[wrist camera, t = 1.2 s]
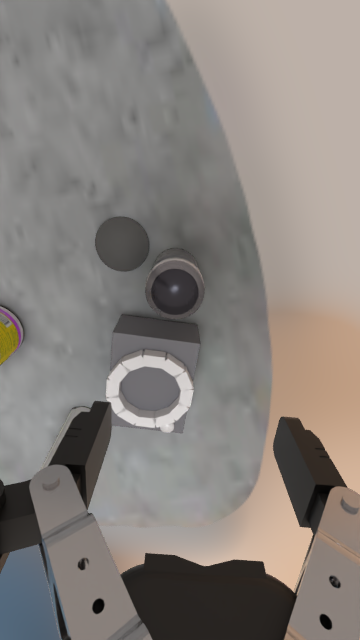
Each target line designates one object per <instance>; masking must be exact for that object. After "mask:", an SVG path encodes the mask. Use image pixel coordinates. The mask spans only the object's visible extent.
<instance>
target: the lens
mask: <svg viewBox="0 0 360 640" xmlns="http://www.w3.org/2000/svg"><path fill="white" fill-rule="evenodd" d="M145 292H146V298H147V301H148V303H149V305H150V307H151V308H152V309H153V310H154V311H155V312H156V313H157V314H159V315H160V316H162V317H165V318H168V319H182V318H185V317H188V316H190V315H191V314H193V313H194V312H195V311H196V310H197V309H198V308H199V307H200V305H201V303H202V301H203V298H204V280H203V277H202V275H201V272H200V271H199V268H198V265H197V262H196V260H195V258H194V257H193V256H192V255H191V254H190V253H189V252H187V251H185V250H183V249H179V248H172V249H168V250H166V251H164V252H162V253H161V254H160V255H159V256H158V257H157V259H156V260H155V263H154V265H153V268H152V269H151V271H150V273H149V275H148V277H147V280H146V290H145Z"/></svg>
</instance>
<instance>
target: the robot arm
mask: <svg viewBox="0 0 360 640" xmlns="http://www.w3.org/2000/svg"><path fill="white" fill-rule="evenodd" d="M111 429H112V406H111V402H101V401H95V402H94V403H93V405H92V407H91V410H90V412H83V411H81V412H80V413H79V414H78V415H77V416H76V417H74V418H73V420H72V422H71V423H70V425H69V427H68V429H67V431H66V433H65V435H64V437H63V439H62V440H61V442H60V444H59V446H58V448H57V450H56V452H55V454H54V455H53V457H52V459H51V461H50V463H49V465H48V466H47V467H45V468H43V469H41V470H40V471H39V472H37V473H36V474H35V475H34V477H33V478H32V479H31V480H28V481H25V482H21V483H16V484H11V485H6V486H4V484H3V482H2V481H1V480H0V573H1V570H2V568H3V566H4V564H5V562H6V559H7V557H8V555H9V553H10V552H11V551H15V550H18V549H22V548H26V547H29V546H33V545H37V544H38V546H39V550H40V555H41V558H42V563H43V566H44V571H45V575H46V579H47V583H48V587H49V590H50V595H51V600H52V605H53V610H54V615H55V619H56V623H57V627H58V632H59V635H60V640H359V639H360V495H359V494H358V493H356V492H355V491H353V490H351V489H349V488H347V486H346V484H345V483H344V481H343V479H342V477H341V476H340V474H339V472H338V470H337V469H336V467H335V465H334V464H333V462H332V460H331V459H330V458H329V455H328V453H327V452H326V451H325V448H324V447H323V445H322V443H321V442H320V440H319V438H317V436H315V435H314V434H313V433H312V432H311V431H310V430H305V429H304V427H303V425H302V423H301V421H300V420H299V419H298V418H292V417H281V418H280V420H279V424H278V428H277V431H276V435H275V439H274V443H273V450H274V456H275V459H276V461H277V464H278V467H279V470H280V472H281V475H282V478H283V481H284V483H285V486H286V489H287V492H288V495H289V497H290V500H291V503H292V505H293V508H294V511H295V514H296V516H297V519H298V522H299V525H300V527H308V528H311V530H312V532H313V536H312V539H311V543H310V545H309V548H308V551H307V554H306V557H305V560H304V563H303V566H302V569H301V572H300V575H299V578H298V581H297V584H296V586H295V589H294V592H293V591H292V590H291V589H290V588H288V587H287V586H286V585H285V584H284V583H282V582H281V581H279V580H278V579H276V578H275V577H273V576H271V575H268V574H266V572H265V568H264V563H263V562H260V561H247V560H231V561H227V562H223V563H219V564H215V565H211V566H201V565H199V564H196V563H194V562H191V561H188V560H186V559H183V558H180V557H178V556H175V555H164V554H148V553H146V554H145V563H144V564H141V565H138V566H135V567H133V568H130V569H129V570H127V571H125V572H123V573H122V574H121V575H120V573H119V571H118V569H117V566H116V564H115V562H114V560H113V558H112V555H111V553H110V551H109V548H108V546H107V544H106V542H105V539H104V537H103V535H102V532H101V530H100V528H99V526H98V523H97V521H96V519H95V517H94V515H93V514H92V513H90V514H89V513H88V511H87V510H88V507H89V504H90V501H91V497H92V494H93V491H94V488H95V485H96V482H97V479H98V476H99V473H100V469H101V466H102V463H103V460H104V457H105V454H106V451H107V448H108V445H109V441H110V437H111Z"/></svg>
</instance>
